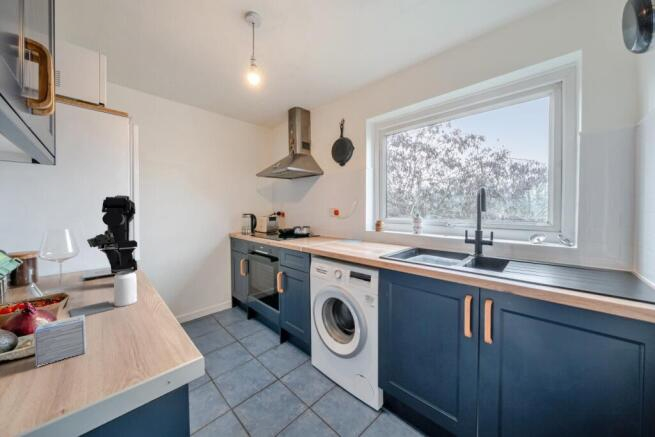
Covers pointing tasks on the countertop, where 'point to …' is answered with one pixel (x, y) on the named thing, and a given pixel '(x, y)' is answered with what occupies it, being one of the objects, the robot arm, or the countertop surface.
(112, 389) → the countertop surface
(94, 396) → the countertop surface
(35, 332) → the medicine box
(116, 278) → the can
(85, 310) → the mat
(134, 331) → the countertop surface
